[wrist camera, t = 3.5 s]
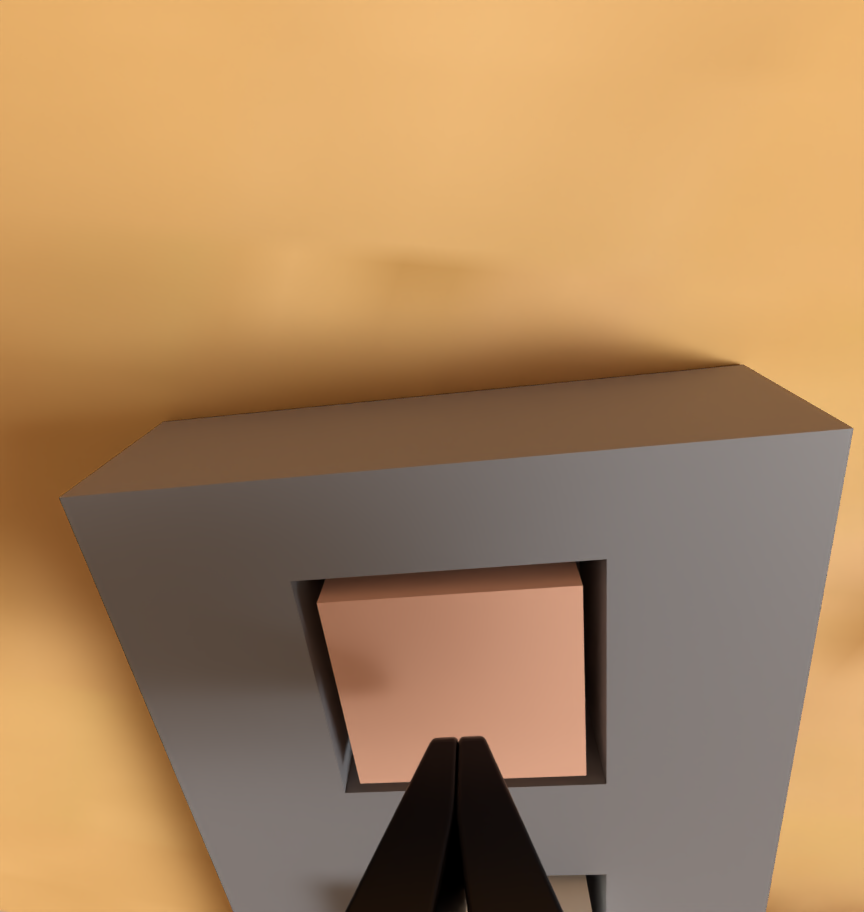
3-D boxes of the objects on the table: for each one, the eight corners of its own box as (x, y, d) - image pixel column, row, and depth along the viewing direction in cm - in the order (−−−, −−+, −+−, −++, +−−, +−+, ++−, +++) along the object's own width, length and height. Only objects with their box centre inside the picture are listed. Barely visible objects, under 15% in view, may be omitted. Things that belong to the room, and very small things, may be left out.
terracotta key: (377, 690, 14) (360, 783, 11) (344, 529, 12) (316, 603, 10) (566, 680, 13) (586, 775, 11) (560, 512, 11) (583, 586, 9)
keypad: (358, 1028, 22) (340, 1166, 19) (162, 421, 12) (59, 497, 9) (679, 1029, 21) (717, 1176, 18) (743, 364, 11) (853, 428, 8)
